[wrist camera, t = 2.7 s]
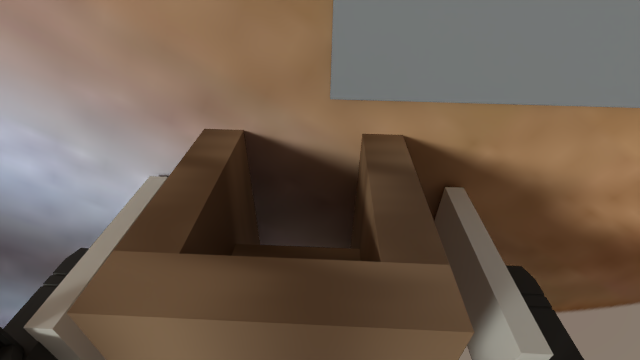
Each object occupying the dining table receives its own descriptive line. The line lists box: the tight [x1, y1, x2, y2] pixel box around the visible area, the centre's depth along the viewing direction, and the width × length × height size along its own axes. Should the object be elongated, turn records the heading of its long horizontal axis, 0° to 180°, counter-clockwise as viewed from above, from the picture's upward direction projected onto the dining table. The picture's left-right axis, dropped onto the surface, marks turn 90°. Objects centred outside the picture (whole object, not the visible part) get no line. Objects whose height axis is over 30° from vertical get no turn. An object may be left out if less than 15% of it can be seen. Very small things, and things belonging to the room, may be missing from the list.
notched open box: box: [67, 129, 474, 360], centre depth 11 cm, size 8×7×8 cm
